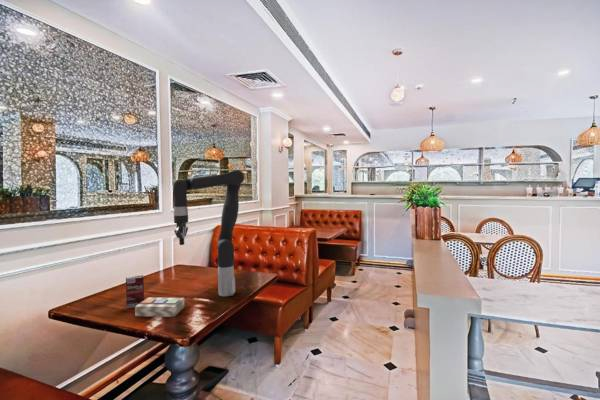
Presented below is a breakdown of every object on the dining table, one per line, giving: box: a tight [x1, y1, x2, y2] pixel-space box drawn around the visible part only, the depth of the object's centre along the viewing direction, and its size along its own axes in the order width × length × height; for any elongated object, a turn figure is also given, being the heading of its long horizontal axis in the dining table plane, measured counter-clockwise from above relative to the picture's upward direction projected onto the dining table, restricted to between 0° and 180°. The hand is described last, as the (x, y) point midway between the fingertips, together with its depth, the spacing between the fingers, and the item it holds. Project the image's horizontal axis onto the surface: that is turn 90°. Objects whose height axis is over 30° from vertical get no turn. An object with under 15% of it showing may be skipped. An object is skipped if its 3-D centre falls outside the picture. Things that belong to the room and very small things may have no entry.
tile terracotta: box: [141, 298, 156, 304], centre depth 157 cm, size 5×5×4 cm
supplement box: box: [125, 274, 145, 309], centre depth 164 cm, size 9×5×16 cm, turn 121°
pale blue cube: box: [153, 299, 168, 304], centre depth 157 cm, size 5×5×4 cm
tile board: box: [134, 297, 185, 318], centre depth 157 cm, size 20×12×5 cm, turn 87°
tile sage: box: [165, 299, 179, 305], centre depth 156 cm, size 5×5×4 cm
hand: (181, 244), depth 171 cm, fingers closed
